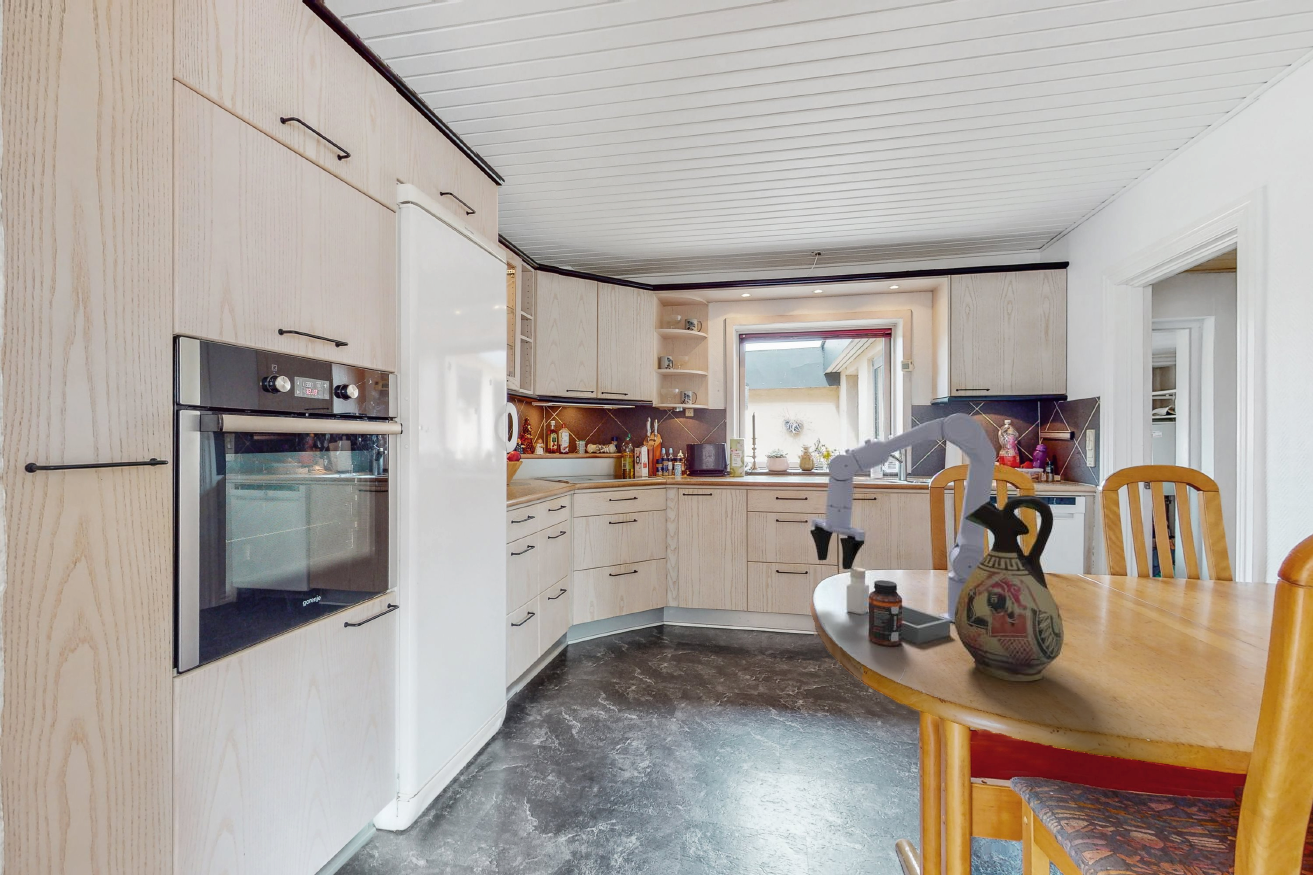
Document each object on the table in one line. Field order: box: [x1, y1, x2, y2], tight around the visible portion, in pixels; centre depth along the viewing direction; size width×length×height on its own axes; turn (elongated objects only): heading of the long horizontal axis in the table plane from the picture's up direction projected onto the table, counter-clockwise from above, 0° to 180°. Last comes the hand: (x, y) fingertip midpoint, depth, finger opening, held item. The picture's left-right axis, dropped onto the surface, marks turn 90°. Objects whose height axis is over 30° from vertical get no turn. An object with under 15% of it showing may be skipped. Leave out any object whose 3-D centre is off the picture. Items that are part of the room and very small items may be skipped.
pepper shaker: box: [846, 567, 870, 615], centre depth 123 cm, size 4×4×10 cm
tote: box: [902, 604, 951, 645], centre depth 111 cm, size 10×11×3 cm
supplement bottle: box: [867, 579, 903, 647], centre depth 106 cm, size 6×6×11 cm
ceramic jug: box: [954, 494, 1065, 682], centre depth 92 cm, size 17×15×30 cm
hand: (834, 564), depth 128 cm, fingers open, 7 cm apart
